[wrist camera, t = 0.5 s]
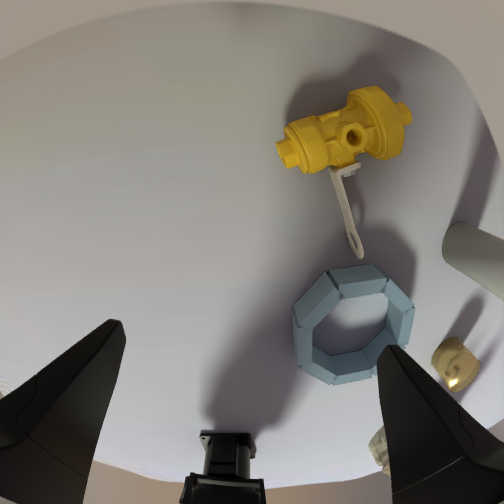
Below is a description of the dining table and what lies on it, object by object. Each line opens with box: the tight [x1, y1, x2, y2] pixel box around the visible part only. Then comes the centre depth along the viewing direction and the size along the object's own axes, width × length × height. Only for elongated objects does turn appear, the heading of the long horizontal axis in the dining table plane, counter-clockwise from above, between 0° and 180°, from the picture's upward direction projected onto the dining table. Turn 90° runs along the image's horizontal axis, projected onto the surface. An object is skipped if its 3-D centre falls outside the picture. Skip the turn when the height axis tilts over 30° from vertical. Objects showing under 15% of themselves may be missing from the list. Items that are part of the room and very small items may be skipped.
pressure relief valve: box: [276, 86, 412, 259], centre depth 18 cm, size 6×12×10 cm
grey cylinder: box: [442, 222, 504, 302], centre depth 16 cm, size 4×4×12 cm
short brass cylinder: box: [431, 337, 480, 392], centre depth 23 cm, size 5×5×5 cm
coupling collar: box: [292, 264, 415, 386], centre depth 22 cm, size 10×10×3 cm
